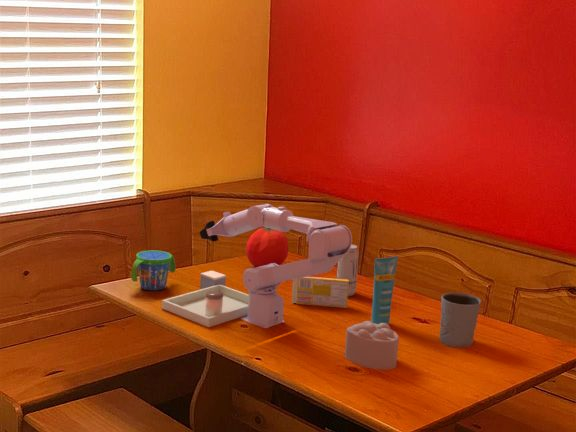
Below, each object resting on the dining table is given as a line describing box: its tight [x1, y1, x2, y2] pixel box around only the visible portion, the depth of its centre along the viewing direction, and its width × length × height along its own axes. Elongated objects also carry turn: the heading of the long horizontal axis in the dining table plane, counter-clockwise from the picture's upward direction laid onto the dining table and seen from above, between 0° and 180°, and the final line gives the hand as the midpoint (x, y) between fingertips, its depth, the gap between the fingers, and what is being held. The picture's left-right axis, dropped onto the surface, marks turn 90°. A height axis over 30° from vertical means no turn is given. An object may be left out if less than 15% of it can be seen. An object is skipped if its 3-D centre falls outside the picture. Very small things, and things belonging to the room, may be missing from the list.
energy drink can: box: [336, 244, 360, 297], centre depth 252 cm, size 6×6×15 cm
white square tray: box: [161, 284, 249, 328], centre depth 232 cm, size 19×22×3 cm
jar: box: [205, 291, 223, 317], centre depth 225 cm, size 5×5×7 cm
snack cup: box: [130, 249, 177, 292], centre depth 248 cm, size 16×10×10 cm
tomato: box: [245, 226, 289, 268], centre depth 273 cm, size 16×14×14 cm
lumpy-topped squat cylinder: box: [344, 320, 400, 370], centre depth 205 cm, size 10×13×9 cm
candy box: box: [291, 276, 349, 309], centre depth 242 cm, size 16×2×8 cm, turn 84°
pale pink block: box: [199, 270, 227, 290], centre depth 249 cm, size 6×5×5 cm
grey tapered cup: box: [439, 292, 482, 349], centre depth 219 cm, size 10×10×12 cm
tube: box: [370, 255, 399, 326], centre depth 228 cm, size 7×5×19 cm, turn 123°
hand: (211, 232), depth 238 cm, fingers open, 7 cm apart
